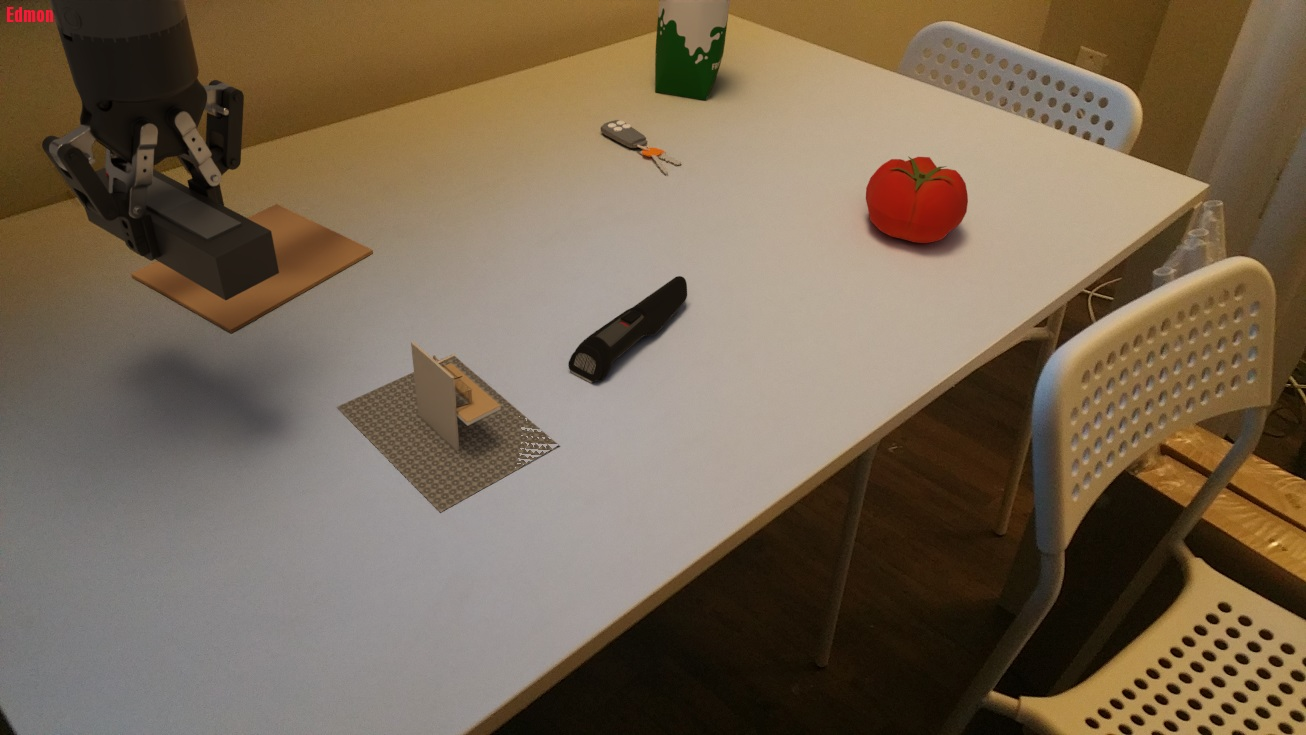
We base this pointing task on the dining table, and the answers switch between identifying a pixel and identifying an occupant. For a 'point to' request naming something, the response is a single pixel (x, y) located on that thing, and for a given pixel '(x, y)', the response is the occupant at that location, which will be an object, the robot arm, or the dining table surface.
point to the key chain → (635, 141)
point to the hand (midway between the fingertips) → (180, 239)
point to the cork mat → (301, 263)
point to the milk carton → (689, 46)
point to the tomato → (916, 199)
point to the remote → (202, 238)
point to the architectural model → (445, 429)
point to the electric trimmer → (627, 331)
